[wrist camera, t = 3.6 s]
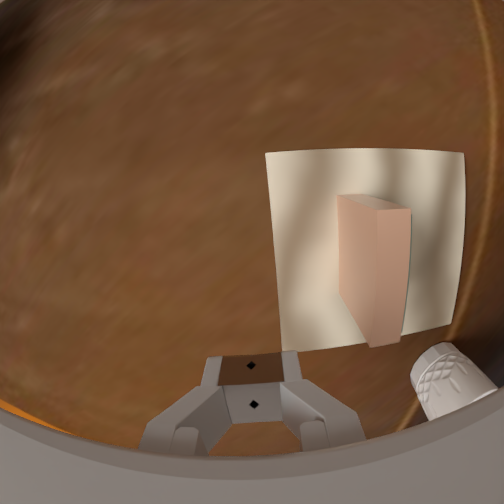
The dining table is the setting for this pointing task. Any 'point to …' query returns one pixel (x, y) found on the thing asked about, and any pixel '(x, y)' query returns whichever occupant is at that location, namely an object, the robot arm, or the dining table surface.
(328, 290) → the board
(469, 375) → the white cup
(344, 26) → the dining table surface
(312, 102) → the dining table surface
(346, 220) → the block
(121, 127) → the dining table surface
